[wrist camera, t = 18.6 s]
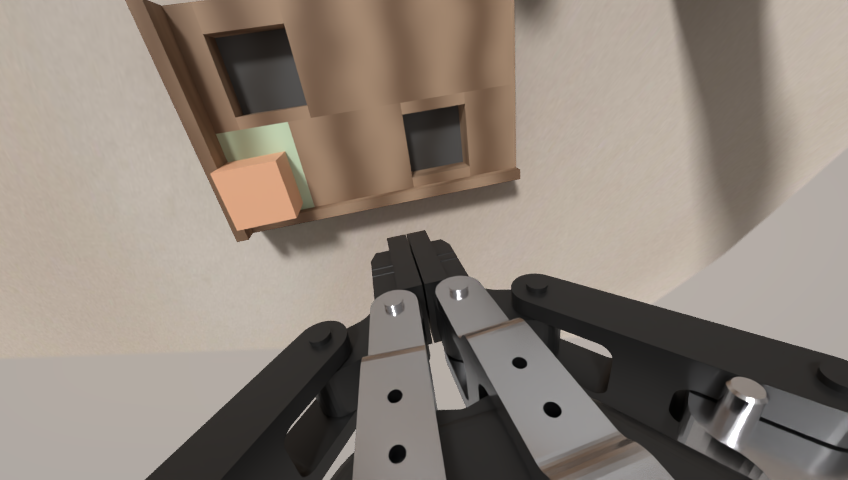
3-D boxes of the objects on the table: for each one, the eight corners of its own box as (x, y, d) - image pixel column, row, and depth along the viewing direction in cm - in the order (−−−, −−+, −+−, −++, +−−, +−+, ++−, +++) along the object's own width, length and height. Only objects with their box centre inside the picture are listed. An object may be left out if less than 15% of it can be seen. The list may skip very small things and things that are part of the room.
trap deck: (501, -30, 28) (528, -50, 24) (506, 170, 37) (526, 182, 32) (164, 14, 25) (125, -1, 21) (252, 221, 34) (237, 242, 29)
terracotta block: (285, 151, 29) (275, 160, 26) (303, 202, 31) (296, 218, 28) (227, 162, 29) (209, 173, 25) (250, 213, 31) (237, 230, 27)
